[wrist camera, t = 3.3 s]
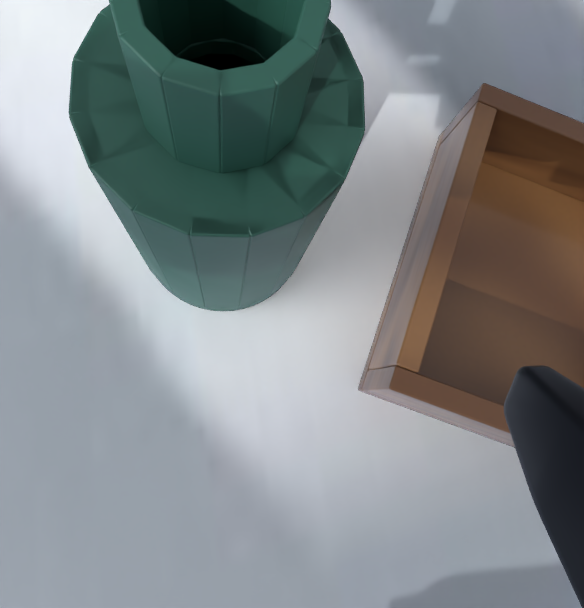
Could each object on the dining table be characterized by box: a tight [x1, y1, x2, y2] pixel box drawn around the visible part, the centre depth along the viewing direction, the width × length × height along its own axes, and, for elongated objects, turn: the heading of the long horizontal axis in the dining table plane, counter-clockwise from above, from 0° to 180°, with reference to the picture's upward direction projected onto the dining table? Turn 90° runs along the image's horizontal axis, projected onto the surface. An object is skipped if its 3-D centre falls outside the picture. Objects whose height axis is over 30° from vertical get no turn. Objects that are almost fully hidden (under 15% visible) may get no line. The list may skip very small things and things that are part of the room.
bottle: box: [69, 0, 365, 311], centre depth 15 cm, size 6×6×13 cm
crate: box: [358, 83, 584, 447], centre depth 20 cm, size 12×12×4 cm
